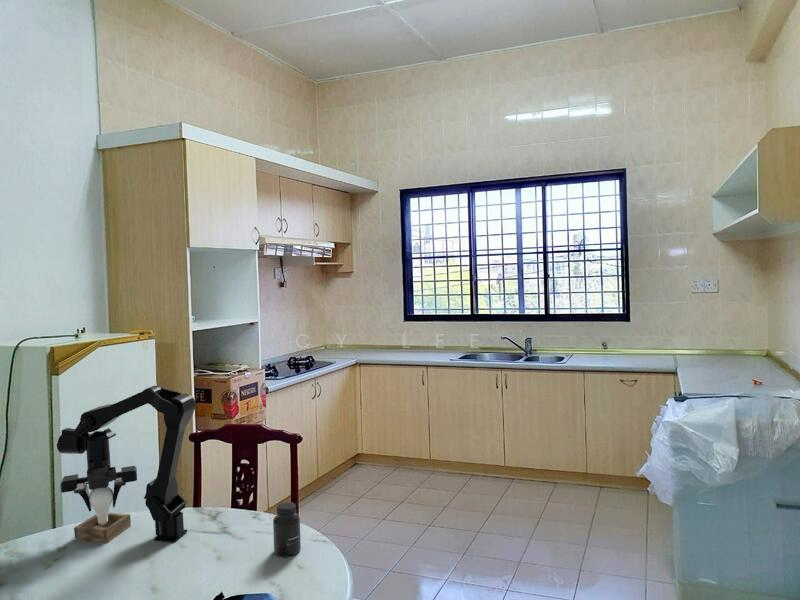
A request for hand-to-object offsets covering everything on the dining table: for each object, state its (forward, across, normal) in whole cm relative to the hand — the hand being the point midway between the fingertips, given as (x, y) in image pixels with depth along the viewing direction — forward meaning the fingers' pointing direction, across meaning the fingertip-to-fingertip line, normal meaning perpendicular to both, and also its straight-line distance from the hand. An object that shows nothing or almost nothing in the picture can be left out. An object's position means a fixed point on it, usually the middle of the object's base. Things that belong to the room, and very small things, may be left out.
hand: (102, 508), depth 172 cm
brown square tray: (+7, 0, 0) cm, 7 cm away
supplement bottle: (+7, +44, -33) cm, 55 cm away
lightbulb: (+5, 0, 0) cm, 5 cm away
